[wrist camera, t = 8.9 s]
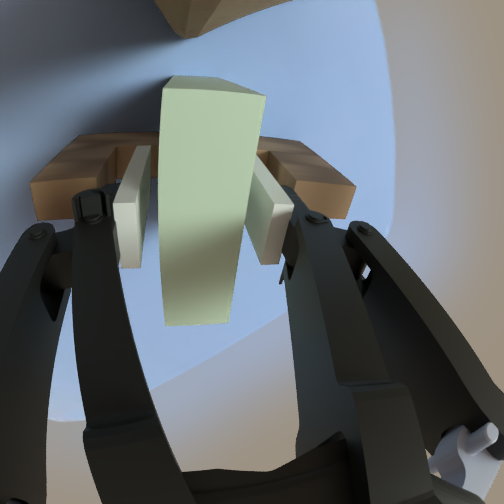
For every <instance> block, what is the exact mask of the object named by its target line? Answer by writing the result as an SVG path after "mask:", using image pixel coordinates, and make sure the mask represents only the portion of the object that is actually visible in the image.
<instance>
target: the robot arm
mask: <svg viewBox="0 0 504 504" xmlns="http://www.w3.org/2000/svg"><path fill="white" fill-rule="evenodd" d="M150 192H151V145H146V146H137V147H136V149H135V151H134V154H133V156H132V158H131V160H130V163H129V165H128V167H127V169H126V172H125V174H124V177H123V179H122V181H121V183H115V184H106V185H104V186H103V187H102V188H100V189H99V188H95V189H88V190H84V191H81V192H79V193H77V194H76V195H75V196H73V198H72V200H71V203H72V209H73V214H74V220H75V227H74V228H72V229H69V230H66V231H62V232H58V233H55V229H54V227H53V225H52V224H50V223H37V224H34V225H32V226H31V227H30V228H28V229H27V230H26V231H25V232H24V233H23V234H22V236H21V237H20V239H19V241H18V242H17V244H16V245H15V247H14V249H13V251H12V252H11V254H10V256H9V258H8V259H7V261H6V263H5V265H4V267H3V268H2V270H1V272H0V504H46V496H47V493H46V433H47V418H48V406H49V397H50V389H51V381H52V374H53V368H54V362H55V356H56V351H57V346H58V341H59V336H60V332H61V327H62V323H63V319H64V315H65V311H66V307H67V303H68V300H69V296H70V293H71V288H72V315H73V332H74V344H75V354H76V363H77V371H78V378H79V384H80V391H81V396H82V402H83V407H84V412H85V417H86V428H85V430H84V431H83V443H84V449H85V452H86V456H87V460H88V464H89V467H90V470H91V473H92V476H93V479H94V482H95V485H96V488H97V491H98V494H99V496H100V499H101V502H102V504H485V503H484V501H483V500H484V498H485V496H486V495H487V493H488V491H489V489H490V487H491V485H492V483H493V481H494V479H495V477H496V474H497V472H498V470H499V468H500V466H501V463H502V462H503V460H504V393H503V392H502V391H501V390H500V389H499V388H498V387H497V386H496V385H495V384H494V383H493V381H492V379H491V378H490V376H489V374H488V373H487V371H486V369H485V368H484V366H483V365H482V363H481V362H480V360H479V358H478V357H477V355H476V354H475V352H474V351H473V349H472V348H471V346H470V345H469V343H468V342H467V340H466V339H465V337H464V336H463V335H462V333H461V332H460V330H459V329H458V328H457V326H456V325H455V323H454V322H453V321H452V319H451V318H450V317H449V315H448V314H447V312H446V311H445V310H444V309H443V307H442V306H441V305H440V303H439V302H438V301H437V299H436V298H435V297H434V296H433V294H432V293H431V292H430V290H429V289H428V288H427V287H426V286H425V284H424V283H423V282H422V281H421V279H420V278H419V277H418V276H417V275H416V273H415V272H414V271H413V270H412V269H411V267H410V266H409V265H408V264H407V263H406V262H405V260H404V259H403V258H402V257H401V256H400V255H399V254H398V252H396V250H395V249H394V248H393V247H392V246H391V245H390V244H389V243H388V242H387V240H386V239H385V238H384V237H383V236H382V235H381V234H380V233H379V232H378V231H377V230H376V229H375V228H374V227H373V226H371V225H369V224H368V223H366V222H363V221H352V222H351V223H350V224H349V227H348V230H344V229H339V228H335V227H333V225H332V223H331V221H330V220H329V218H328V217H327V216H325V215H323V214H321V213H319V212H316V211H312V210H309V208H308V207H307V206H306V205H305V203H304V202H303V201H302V200H301V198H300V197H298V195H297V193H296V192H295V191H294V190H293V189H291V188H290V187H288V186H286V185H279V184H278V182H277V181H276V180H275V178H274V177H273V176H272V174H271V173H270V172H269V170H268V169H267V168H266V167H265V165H264V164H263V163H262V161H261V160H260V159H259V158H258V156H257V155H256V157H255V163H254V169H253V175H252V181H251V187H250V192H249V198H248V204H247V210H246V216H245V222H244V224H245V226H246V229H247V231H248V234H249V236H250V239H251V241H252V244H253V246H254V249H255V251H256V254H257V256H258V259H259V261H260V264H261V265H270V264H279V261H280V257H281V254H282V253H283V255H284V257H285V259H286V260H285V263H284V267H283V270H282V274H281V277H280V281H279V284H282V281H283V280H284V282H285V290H286V298H287V306H288V314H289V323H290V331H291V341H292V350H293V360H294V370H295V380H296V390H297V401H298V411H299V431H298V434H297V438H296V459H294V460H292V461H290V462H289V463H287V464H285V465H283V466H281V467H279V468H277V469H275V470H273V471H268V472H257V471H256V472H255V471H237V470H224V469H211V470H202V471H190V472H181V470H180V467H179V465H178V463H177V461H176V458H175V456H174V454H173V452H172V449H171V447H170V445H169V442H168V440H167V438H166V435H165V433H164V430H163V428H162V425H161V422H160V420H159V417H158V414H157V412H156V409H155V406H154V404H153V400H152V397H151V394H150V392H149V388H148V385H147V382H146V379H145V376H144V373H143V369H142V366H141V363H140V359H139V356H138V352H137V349H136V345H135V341H134V337H133V333H132V329H131V325H130V321H129V317H128V312H127V308H126V303H125V299H124V294H123V289H122V283H121V278H120V273H119V267H118V265H119V259H120V263H121V268H141V259H142V250H143V241H144V233H145V225H146V218H147V211H148V205H149V198H150ZM367 265H368V267H369V268H370V269H371V271H370V273H369V275H368V277H367V278H366V279H365V278H364V277H363V275H362V274H363V272H364V270H365V268H366V266H367ZM425 449H426V450H427V451H428V452H429V453H430V454H431V455H432V456H431V457H430V458H429V459H428V460H427V455H426V450H425ZM436 472H439V473H440V475H441V478H439V477H437V476H435V475H433V474H431V473H436Z"/></svg>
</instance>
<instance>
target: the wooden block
mask: <svg viewBox="0 0 504 504" xmlns="http://www.w3.org/2000/svg"><path fill="white" fill-rule="evenodd" d="M288 1H291V0H154V2H155V3H156V5H157V6H158V8H159V9H160V11H161V12H162V14H163V15H164V17H165V18H166V20H167V21H168V23H169V25H170V26H171V28H172V29H173V31H174V32H175V33H176V34H177V35H179V36H181V37H182V38H184V39H188V38H195V37H199V36H201V35H203V34H205V33H207V32H209V31H211V30H213V29H215V28H218V27H220V26H222V25H224V24H227V23H229V22H231V21H234V20H236V19H239V18H241V17H244V16H246V15H249V14H252V13H254V12H257V11H260V10H263V9H266V8H269V7H272V6H275V5H278V4H281V3H284V2H288Z"/></svg>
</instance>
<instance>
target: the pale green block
mask: <svg viewBox="0 0 504 504" xmlns="http://www.w3.org/2000/svg"><path fill="white" fill-rule="evenodd" d="M265 101H266V96H265V95H263V94H260V93H258V92H255V91H253V90H250V89H248V88H245V87H243V86H240V85H238V84H235V83H232V82H230V81H227V80H224V79H221V78H215V77H200V76H173V77H172V78H171V79H170V80H169V82H168V83H167V84H166V85H165V86H164V88H163V93H162V104H161V118H160V135H159V161H158V226H159V252H160V270H161V284H162V297H163V308H164V318H165V326H183V325H204V324H221V323H228V322H229V316H230V310H231V303H232V297H233V290H234V284H235V278H236V272H237V265H238V259H239V253H240V247H241V241H242V234H243V228H244V222H245V216H246V210H247V204H248V198H249V192H250V187H251V181H252V175H253V169H254V163H255V157H256V152H257V146H258V140H259V135H260V129H261V123H262V118H263V112H264V106H265Z"/></svg>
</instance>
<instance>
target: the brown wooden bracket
mask: <svg viewBox="0 0 504 504" xmlns="http://www.w3.org/2000/svg"><path fill="white" fill-rule="evenodd" d="M159 135H160V131H154V132H120V133H103V134H90V135H79V136H78V137H77V138H76V139H74V140H73V141H72V142H71V143H70V144H69V145H68V146H66V147H65V148H64V149H63V150H62V151H61V152H60V153H59V154H58V155H57V156H56V157H55V158H54V159H52V160H51V161H50V162H49V163H48V164H47V165H46V166H45V167H44V168H43V169H42V170H41V171H40V172H39V173H38V174H37V175H36V176H35V178H34V179H33V180H32V181H31V182H30V188H31V194H32V199H33V203H34V208H35V213H36V217H37V221H40V220H57V219H74V214H73V209H72V203H71V200H72V198H73V196H75V195H76V194H77V193H79V192H81V191H84V190H88V189H95V188H99V189H100V188H102V187H103V186H104V185H106V184H115V182H116V179H123V177H124V174H125V172H126V169H127V167H128V165H129V163H130V160H131V158H132V156H133V154H134V151H135V149H136V147H137V146H146V145H151V178H158V161H159ZM256 155H257V156H258V158H259V159H260V160H261V161H262V163H263V164H264V165H265V167H266V168H267V169H268V170H269V172H270V173H271V174H272V176H273V177H274V178H275V180H276V181H277V182H278V184H279V185H286V186H288V187H290V188H291V189H293V190H294V191H295V192H296V193H297V195H298V197H300V198H301V200H302V201H303V202H304V203H305V205H306V206H307V207H308V208H309V210H312V211H316V212H319V213H321V214H323V215H325V216H327V217H328V218H332V219H346V216H347V213H348V210H349V208H350V205H351V202H352V199H353V196H354V193H355V190H356V186H355V185H354V184H353V183H352V182H351V181H349V180H348V179H347V178H346V177H345V176H343V175H342V174H341V173H340V172H339V171H337V170H336V169H335V168H334V167H333V166H331V165H330V164H329V163H328V162H326V161H325V160H324V159H323V158H321V157H320V156H319V155H317V154H316V153H315V152H314V151H312V150H311V149H310V148H308V147H307V146H306V145H304V144H303V143H302V142H300V141H295V140H288V139H280V138H271V137H262V136H259V140H258V146H257V152H256Z"/></svg>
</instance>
